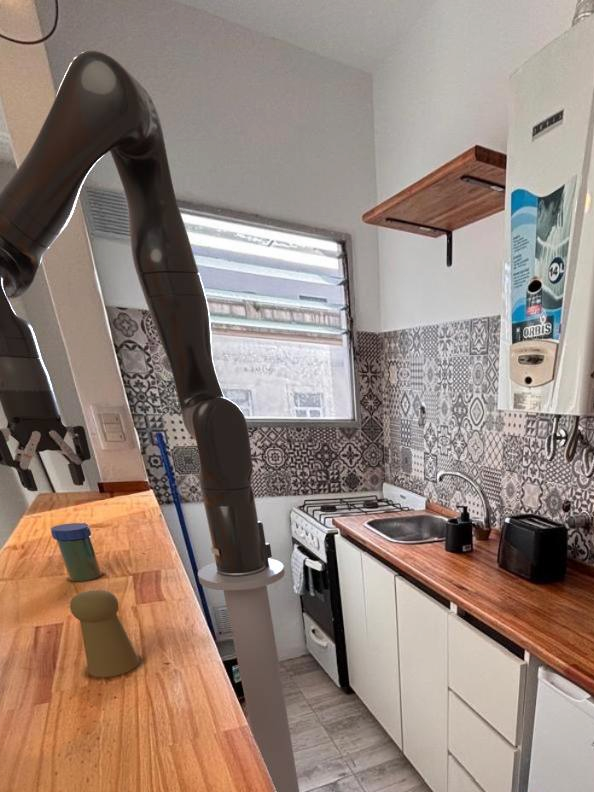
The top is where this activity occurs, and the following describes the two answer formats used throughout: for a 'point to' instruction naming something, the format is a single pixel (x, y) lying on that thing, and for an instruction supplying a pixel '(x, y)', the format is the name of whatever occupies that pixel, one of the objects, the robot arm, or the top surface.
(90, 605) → the cork
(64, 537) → the jar lid
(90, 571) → the jam jar
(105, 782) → the top surface
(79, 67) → the robot arm
